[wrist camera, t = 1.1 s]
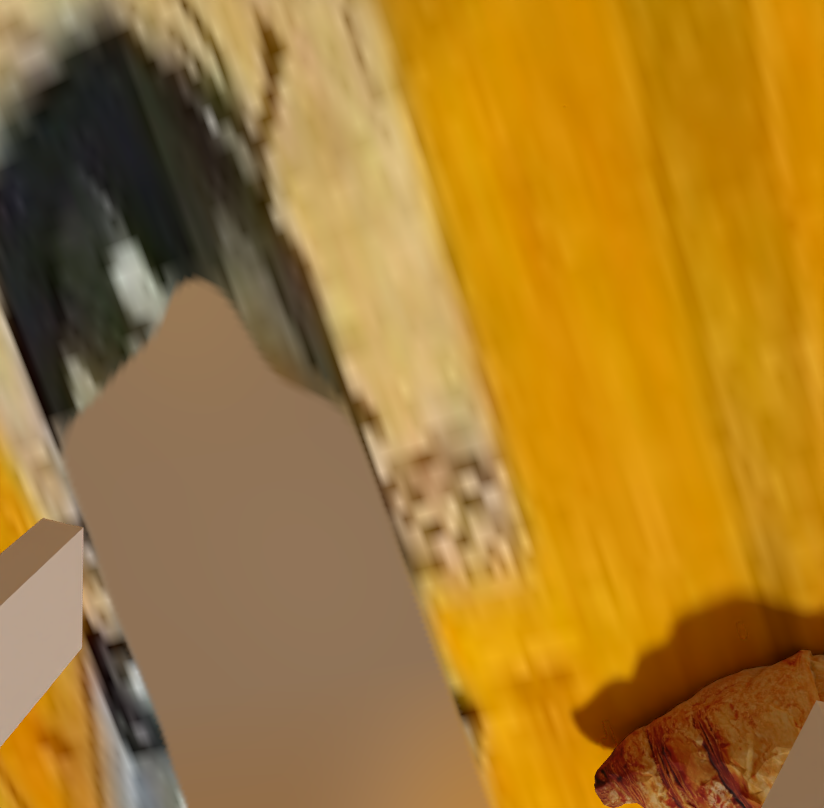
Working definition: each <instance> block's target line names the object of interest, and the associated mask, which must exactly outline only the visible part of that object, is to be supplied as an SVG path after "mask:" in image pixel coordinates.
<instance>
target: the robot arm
mask: <svg viewBox="0 0 824 808" xmlns="http://www.w3.org/2000/svg"><path fill="white" fill-rule="evenodd" d="M82 594H83V528H82V527H78V526H74V525H70V524H65V523H61V522H57V521H53V520H48V519H44V518H43V519H41V520H40V521H39V522H38V523H37V524H35V525H34V526H33V527H32V528H31V529H29V530H28V531H27V532H26V533H25V534H24V535H22V536H21V537H20V538H19V539H18V540H16V541H15V542H14V543H13V544H12V545H10V546H9V547H8V548H7V549H6V550H5V551H3V552H2V553H1V554H0V747H1V746H2V744H3V743H4V742H5V741H6V739H7V738H8V737H9V736H10V735H11V733H12V732H13V731H14V730H15V729H16V727H17V726H18V725H19V724H20V722H21V721H22V720H23V719H24V718H25V716H26V715H27V714H28V713H29V711H30V710H31V709H32V708H33V707H34V705H35V704H36V703H37V702H38V701H39V699H40V698H41V697H42V696H43V694H44V693H45V692H46V691H47V690H48V688H49V687H50V686H51V685H52V683H53V682H54V681H55V680H56V679H57V677H58V676H59V675H60V674H61V672H62V671H63V670H64V669H65V668H66V666H67V665H68V664H69V663H70V662H71V660H72V659H73V658H74V657H75V655H76V654H77V653H78V652H79V651H80V649H81V648H82ZM761 808H824V702H822V701H818V700H816V702H815V704H814V706H813V708H812V710H811V712H810V714H809V716H808V718H807V719H806V721H805V723H804V725H803V727H802V729H801V731H800V733H799V735H798V737H797V739H796V741H795V743H794V745H793V747H792V749H791V751H790V753H789V755H788V757H787V758H786V760H785V762H784V764H783V766H782V768H781V770H780V772H779V774H778V776H777V778H776V780H775V782H774V784H773V786H772V788H771V790H770V792H769V794H768V795H767V797H766V799H765V801H764V803H763V805H762V807H761Z"/></svg>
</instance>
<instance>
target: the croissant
mask: <svg viewBox="0 0 824 808" xmlns="http://www.w3.org/2000/svg"><path fill="white" fill-rule="evenodd" d="M816 700H818V701H822V702H824V655H814V656H813V655H812V653H811V651H809V650H800V651H799V652H797V653H796V654H794V655H793V656H791V657H789V658H787V659H785V660H782V661H780V662H778V663H776V664H774V665H772V666H761V667H755V668H751V669H744V670H742V671H740V672H738V673H735V674H732V675H729V676H726V677H724V678H721V679H719V680H716V681H714V682H713V683H711V684H710V685H708V686H706V687H704V688H702V689H701V690H700V691H699V692H698V693H696V694H695V695H694V696H693V697H692V698H690V699H689V700H687V701H685V702H683V703H681V704H679V705H677V706H676V707H675V708H673V709H672V710H671V711H670V712H668V713H666V714H665V715H663V716H661V717H659V718H657V719H655V720H654V721H652V722H651V723H650V724H649V725H647V726H643V727H641V728H639V729H636V730H635V731H633V732H632V733H630V734H629V735H628V736H627V737H626V738H625V739H624V740H623V741H622V742H621V743H620V744H619V745H618V746H617V747H616V748H615V749H614V750H613V752H612V754H611V755H610V756H609V758H608V759H607V760H606V761H605V762H604V763H603V764H602V765H601V767H600V768H599V769H598V770H597V772H596V774H595V784H594V786H595V792H596V793H597V795H598V796H599V798H600V799H601V801H602V802H603V804H604V805H606V806H609V807H612V808H615V807H619V806H621V805H623V804H625V803H638V804H640V805H641V806H642V807H644V808H761V807H762V805H763V803H764V801H765V799H766V797H767V795H768V794H769V792H770V790H771V788H772V786H773V784H774V782H775V780H776V778H777V776H778V774H779V772H780V770H781V768H782V766H783V764H784V762H785V760H786V758H787V757H788V755H789V753H790V751H791V749H792V747H793V745H794V743H795V741H796V739H797V737H798V735H799V733H800V731H801V729H802V727H803V725H804V723H805V721H806V719H807V718H808V716H809V714H810V712H811V710H812V708H813V706H814V704H815V702H816Z"/></svg>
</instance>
